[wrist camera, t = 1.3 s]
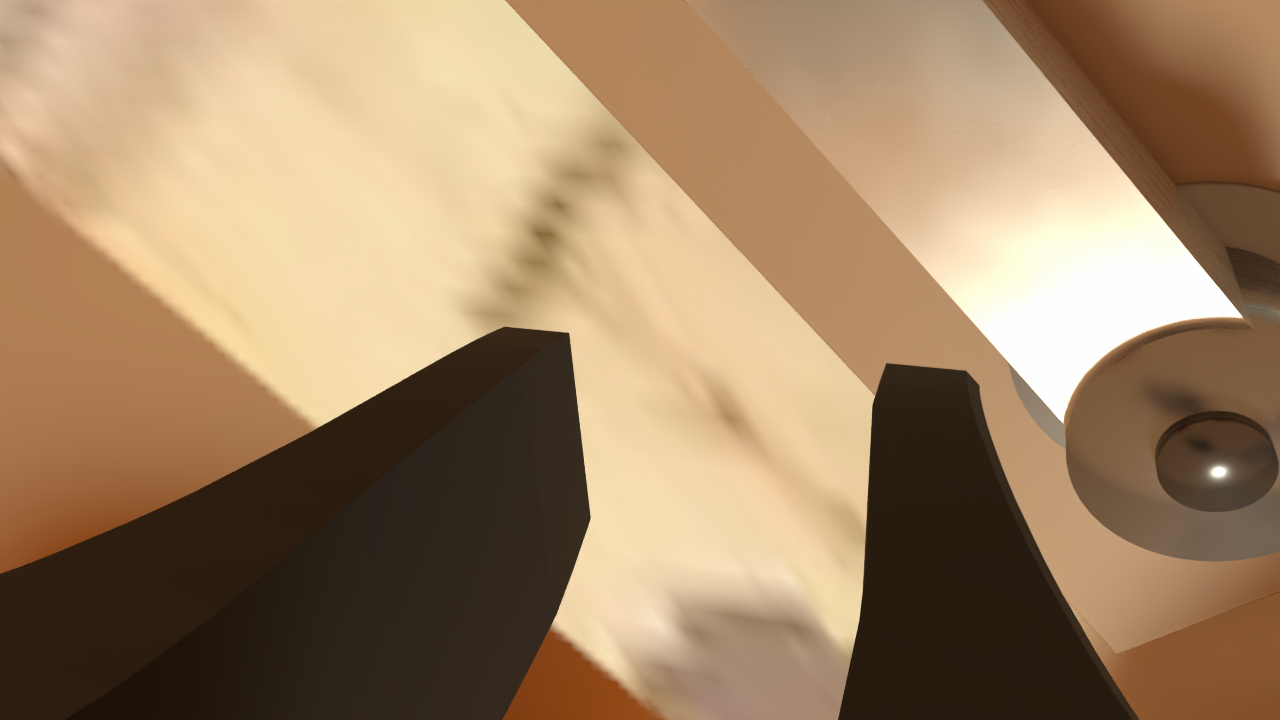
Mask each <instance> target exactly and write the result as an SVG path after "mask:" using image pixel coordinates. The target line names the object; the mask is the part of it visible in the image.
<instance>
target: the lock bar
mask: <svg viewBox="0 0 1280 720" xmlns="http://www.w3.org/2000/svg"><path fill="white" fill-rule="evenodd" d="M686 1H687V2H688V3H689V5H690V6H691V7H692V8H693V9H694V10H695V11H696V12H697V14H698V15H699V16H700V17H701V18H702V19H703V20H704V21H705V22H706V24H707V25H708V26H709V27H710V28H711V29H712V30H713V31H714V33H715V34H716V35H717V36H718V37H719V38H720V39H721V40H722V42H723V43H724V44H725V45H726V46H727V47H728V48H729V49H730V50H731V52H732V53H733V54H734V55H735V56H736V57H737V58H738V59H739V61H740V62H741V63H742V64H743V65H744V66H745V67H746V68H747V70H748V71H749V72H750V73H751V74H752V75H753V76H754V77H755V78H756V80H757V81H758V82H759V83H760V84H761V85H762V86H763V87H764V89H765V90H766V91H767V92H768V93H769V94H770V95H771V96H772V98H773V99H774V100H775V101H776V102H777V103H778V104H779V105H780V107H781V108H782V109H783V110H784V111H785V112H786V113H787V114H788V115H789V117H790V118H791V119H792V120H793V121H794V122H795V123H796V124H797V126H798V127H799V128H800V129H801V130H802V131H803V132H804V133H805V135H806V136H807V137H808V138H809V139H810V140H811V141H812V142H813V143H814V145H815V146H816V147H817V148H818V149H819V150H820V151H821V152H822V154H823V155H824V156H825V157H826V158H827V159H828V160H829V161H830V163H831V164H832V165H833V166H834V167H835V168H836V169H837V170H838V172H839V173H840V174H841V175H842V176H843V177H844V178H845V179H846V180H847V182H848V183H849V184H850V185H851V186H852V187H853V188H854V189H855V191H856V192H857V193H858V194H859V195H860V196H861V197H862V198H863V200H864V201H865V202H866V203H867V204H868V205H869V206H870V207H871V208H872V210H873V211H874V212H875V213H876V214H877V215H878V216H879V217H880V219H881V220H882V221H883V222H884V223H885V224H886V225H887V226H888V228H889V229H890V230H891V231H892V232H893V233H894V234H895V235H896V237H897V238H898V239H899V240H900V241H901V242H902V243H903V244H904V245H905V247H906V248H907V249H908V250H909V251H910V252H911V253H912V254H913V256H914V257H915V258H916V259H917V260H918V261H919V262H920V263H921V265H922V266H923V267H924V268H925V269H926V270H927V271H928V272H929V273H930V275H931V276H932V277H933V278H934V279H935V280H936V281H937V282H938V284H939V285H940V286H941V287H942V288H943V289H944V290H945V291H946V293H947V294H948V295H949V296H950V297H951V298H952V299H953V300H954V302H955V303H956V304H957V305H958V306H959V307H960V308H961V309H962V310H963V312H964V313H965V314H966V315H967V316H968V317H969V318H970V319H971V321H972V322H973V323H974V324H975V325H976V326H977V327H978V328H979V330H980V331H981V332H982V333H983V334H984V335H985V336H986V337H987V338H988V340H989V341H990V342H991V343H992V344H993V345H994V346H995V347H996V349H997V350H998V351H999V352H1000V353H1001V354H1002V355H1003V356H1004V358H1005V359H1006V360H1007V361H1008V362H1009V363H1010V364H1011V365H1012V367H1013V368H1014V369H1015V370H1016V371H1017V372H1018V373H1019V374H1020V375H1021V377H1022V378H1023V379H1024V380H1025V381H1026V382H1027V383H1028V384H1029V386H1030V387H1031V388H1032V389H1033V390H1034V391H1035V392H1036V393H1037V395H1038V396H1039V397H1040V398H1041V399H1042V400H1043V401H1044V402H1045V403H1046V405H1047V406H1048V407H1049V408H1050V409H1051V410H1052V411H1053V412H1054V414H1055V415H1056V416H1057V417H1058V418H1059V419H1060V420H1061V421H1062V423H1063V424H1064V425H1065V444H1066V463H1067V468H1068V473H1069V477H1070V480H1071V482H1072V485H1073V488H1074V490H1075V492H1076V493H1077V495H1078V497H1079V499H1080V500H1081V502H1082V503H1083V505H1084V506H1085V507H1086V508H1087V510H1088V511H1089V512H1090V513H1091V514H1092V515H1093V516H1094V517H1095V518H1096V519H1097V520H1098V521H1099V522H1100V523H1101V524H1102V525H1103V526H1105V527H1106V528H1107V529H1109V530H1110V531H1111V532H1113V533H1114V534H1116V535H1117V536H1119V537H1121V538H1123V539H1124V540H1126V541H1128V542H1130V543H1132V544H1134V545H1136V546H1139V547H1141V548H1143V549H1146V550H1149V551H1152V552H1155V553H1158V554H1161V555H1165V556H1170V557H1174V558H1179V559H1187V560H1195V561H1214V562H1219V561H1236V560H1243V559H1250V558H1256V557H1260V556H1264V555H1269V554H1273V553H1276V552H1279V551H1280V264H1279V263H1277V262H1275V261H1274V260H1271V259H1269V258H1266V257H1264V256H1262V255H1259V254H1257V253H1253V252H1250V251H1246V250H1243V249H1238V248H1232V247H1226V246H1225V245H1224V244H1223V243H1222V242H1221V241H1220V239H1219V238H1218V237H1217V236H1216V234H1215V233H1214V232H1213V231H1212V229H1211V228H1210V227H1209V226H1208V225H1207V223H1206V222H1205V221H1204V220H1203V218H1202V217H1201V216H1200V215H1199V213H1198V212H1197V211H1196V210H1195V208H1194V207H1193V206H1192V205H1191V204H1190V202H1189V201H1188V200H1187V199H1186V197H1185V196H1184V195H1183V194H1182V192H1181V191H1180V190H1179V189H1178V188H1177V186H1176V185H1175V184H1174V183H1173V181H1172V180H1171V179H1170V178H1169V176H1168V175H1167V174H1166V173H1165V172H1164V170H1163V169H1162V168H1161V167H1160V165H1159V164H1158V163H1157V162H1156V160H1155V159H1154V158H1153V157H1152V156H1151V154H1150V153H1149V152H1148V151H1147V149H1146V148H1145V147H1144V146H1143V144H1142V143H1141V142H1140V141H1139V139H1138V138H1137V137H1136V136H1135V135H1134V133H1133V132H1132V131H1131V130H1130V128H1129V127H1128V126H1127V125H1126V123H1125V122H1124V121H1123V120H1122V119H1121V117H1120V116H1119V115H1118V114H1117V112H1116V111H1115V110H1114V109H1113V107H1112V106H1111V105H1110V104H1109V103H1108V101H1107V100H1106V99H1105V98H1104V96H1103V95H1102V94H1101V93H1100V91H1099V90H1098V89H1097V88H1096V87H1095V85H1094V84H1093V83H1092V82H1091V80H1090V79H1089V78H1088V77H1087V75H1086V74H1085V73H1084V72H1083V70H1082V69H1081V68H1080V67H1079V66H1078V64H1077V63H1076V62H1075V61H1074V59H1073V58H1072V57H1071V56H1070V54H1069V53H1068V52H1067V51H1066V50H1065V48H1064V47H1063V46H1062V45H1061V43H1060V42H1059V41H1058V40H1057V38H1056V37H1055V36H1054V35H1053V34H1052V32H1051V31H1050V30H1049V29H1048V27H1047V26H1046V25H1045V24H1044V22H1043V21H1042V20H1041V19H1040V18H1039V16H1038V15H1037V14H1036V13H1035V11H1034V10H1033V9H1032V8H1031V6H1030V5H1029V4H1028V3H1027V1H1026V0H686Z"/></svg>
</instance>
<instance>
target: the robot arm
mask: <svg viewBox="0 0 1280 720" xmlns="http://www.w3.org/2000/svg"><path fill="white" fill-rule="evenodd" d="M590 519H591V517H590V509H589V500H588V491H587V483H586V474H585V466H584V457H583V448H582V440H581V431H580V423H579V414H578V405H577V397H576V388H575V380H574V371H573V362H572V354H571V345H570V337H569V333H564V332H553V331H543V330H532V329H522V328H511V327H503V328H501V329H498V330H496V331H494V332H492V333H489V334H487V335H485V336H483V337H481V338H479V339H477V340H475V341H473V342H471V343H469V344H467V345H465V346H463V347H461V348H460V349H458V350H456V351H454V352H452V353H450V354H449V355H447V356H445V357H443V358H441V359H439V360H438V361H436V362H434V363H432V364H431V365H429V366H427V367H425V368H423V369H422V370H420V371H418V372H416V373H415V374H413V375H411V376H409V377H408V378H406V379H404V380H402V381H401V382H399V383H397V384H395V385H394V386H392V387H390V388H388V389H386V390H385V391H383V392H381V393H379V394H378V395H376V396H374V397H372V398H370V399H369V400H367V401H365V402H363V403H362V404H360V405H358V406H356V407H354V408H353V409H351V410H349V411H347V412H346V413H344V414H342V415H340V416H338V417H337V418H335V419H333V420H331V421H330V422H328V423H326V424H324V425H322V426H321V427H319V428H317V429H315V430H314V431H312V432H310V433H308V434H306V435H304V436H302V437H300V438H298V439H297V440H295V441H293V442H291V443H289V444H287V445H285V446H283V447H281V448H279V449H277V450H275V451H273V452H271V453H269V454H267V455H266V456H263V457H261V458H259V459H258V460H256V461H254V462H252V463H250V464H248V465H246V466H244V467H242V468H240V469H238V470H236V471H235V472H232V473H230V474H228V475H226V476H225V477H223V478H221V479H219V480H217V481H215V482H213V483H211V484H209V485H207V486H205V487H203V488H201V489H199V490H197V491H195V492H193V493H191V494H189V495H187V496H185V497H183V498H181V499H178V500H176V501H174V502H172V503H170V504H168V505H166V506H164V507H161V508H159V509H157V510H155V511H152V512H151V513H148V514H146V515H144V516H141V517H139V518H137V519H135V520H133V521H130V522H128V523H126V524H124V525H121V526H119V527H116V528H114V529H112V530H109V531H107V532H104V533H102V534H100V535H97V536H95V537H93V538H90V539H88V540H85V541H83V542H81V543H78V544H76V545H73V546H71V547H69V548H66V549H64V550H62V551H59V552H57V553H55V554H52V555H49V556H47V557H44V558H42V559H39V560H37V561H34V562H32V563H29V564H26V565H24V566H21V567H19V568H16V569H13V570H10V571H7V572H5V573H2V574H0V720H502V719H503V717H504V716H505V714H506V712H507V710H508V708H509V705H510V704H511V702H512V700H513V698H514V697H515V694H516V693H517V691H518V689H519V687H520V685H521V683H522V681H523V679H524V677H525V675H526V673H527V671H528V670H529V667H530V666H531V664H532V662H533V660H534V657H535V656H536V654H537V652H538V650H539V648H540V646H541V644H542V642H543V640H544V638H545V636H546V634H547V632H548V630H549V628H550V626H551V624H552V622H553V620H554V618H555V616H556V614H557V612H558V609H559V606H560V604H561V601H562V598H563V596H564V593H565V590H566V588H567V585H568V582H569V580H570V577H571V574H572V572H573V569H574V566H575V563H576V560H577V557H578V554H579V551H580V548H581V545H582V542H583V539H584V537H585V534H586V531H587V528H588V525H589V522H590ZM838 720H1139V719H1138V717H1137V716H1136V714H1135V713H1134V711H1133V710H1132V708H1131V707H1130V705H1129V704H1128V702H1127V701H1126V699H1125V697H1124V696H1123V694H1122V693H1121V691H1120V690H1119V688H1118V687H1117V685H1116V683H1115V682H1114V680H1113V679H1112V677H1111V676H1110V674H1109V672H1108V671H1107V669H1106V667H1105V666H1104V664H1103V663H1102V661H1101V659H1100V658H1099V656H1098V654H1097V653H1096V651H1095V650H1094V648H1093V646H1092V645H1091V643H1090V641H1089V639H1088V638H1087V636H1086V634H1085V632H1084V631H1083V629H1082V627H1081V625H1080V624H1079V622H1078V620H1077V618H1076V617H1075V615H1074V613H1073V611H1072V610H1071V608H1070V606H1069V604H1068V603H1067V601H1066V599H1065V597H1064V596H1063V594H1062V592H1061V590H1060V588H1059V586H1058V585H1057V583H1056V581H1055V579H1054V577H1053V575H1052V573H1051V571H1050V569H1049V567H1048V566H1047V564H1046V562H1045V560H1044V558H1043V556H1042V554H1041V552H1040V550H1039V548H1038V545H1037V543H1036V541H1035V539H1034V537H1033V535H1032V533H1031V531H1030V529H1029V526H1028V524H1027V522H1026V520H1025V518H1024V516H1023V514H1022V512H1021V510H1020V508H1019V505H1018V503H1017V501H1016V499H1015V497H1014V494H1013V492H1012V490H1011V487H1010V485H1009V483H1008V480H1007V478H1006V475H1005V473H1004V470H1003V468H1002V465H1001V462H1000V460H999V457H998V454H997V452H996V449H995V446H994V444H993V441H992V438H991V435H990V432H989V428H988V425H987V422H986V418H985V415H984V411H983V406H982V402H981V397H980V386H979V384H978V383H977V382H976V381H975V380H974V379H973V377H972V376H971V375H970V374H969V373H968V372H967V371H965V370H955V369H944V368H933V367H923V366H912V365H902V364H891V363H886V365H885V368H884V371H883V374H882V376H881V379H880V382H879V385H878V389H877V392H876V395H875V399H874V402H873V407H872V426H871V445H870V465H869V484H868V503H867V522H866V541H865V560H864V579H863V595H862V603H861V612H860V620H859V625H858V630H857V634H856V639H855V644H854V648H853V653H852V658H851V662H850V667H849V672H848V676H847V681H846V686H845V690H844V695H843V700H842V704H841V709H840V714H839V718H838Z"/></svg>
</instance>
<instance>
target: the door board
mask: <svg viewBox="0 0 1280 720" xmlns="http://www.w3.org/2000/svg"><path fill="white" fill-rule="evenodd" d="M1026 1H1027V3H1028V4H1029V5H1030V6H1031V8H1032V9H1033V10H1034V11H1035V13H1036V14H1037V15H1038V16H1039V18H1040V19H1041V20H1042V21H1043V22H1044V24H1045V25H1046V26H1047V27H1048V29H1049V30H1050V31H1051V32H1052V34H1053V35H1054V36H1055V37H1056V38H1057V40H1058V41H1059V42H1060V43H1061V45H1062V46H1063V47H1064V48H1065V50H1066V51H1067V52H1068V53H1069V54H1070V56H1071V57H1072V58H1073V59H1074V61H1075V62H1076V63H1077V64H1078V66H1079V67H1080V68H1081V69H1082V70H1083V72H1084V73H1085V74H1086V75H1087V77H1088V78H1089V79H1090V80H1091V82H1092V83H1093V84H1094V85H1095V87H1096V88H1097V89H1098V90H1099V91H1100V93H1101V94H1102V95H1103V96H1104V98H1105V99H1106V100H1107V101H1108V103H1109V104H1110V105H1111V106H1112V107H1113V109H1114V110H1115V111H1116V112H1117V114H1118V115H1119V116H1120V117H1121V119H1122V120H1123V121H1124V122H1125V123H1126V125H1127V126H1128V127H1129V128H1130V130H1131V131H1132V132H1133V133H1134V135H1135V136H1136V137H1137V138H1138V139H1139V141H1140V142H1141V143H1142V144H1143V146H1144V147H1145V148H1146V149H1147V151H1148V152H1149V153H1150V154H1151V156H1152V157H1153V158H1154V159H1155V160H1156V162H1157V163H1158V164H1159V165H1160V167H1161V168H1162V169H1163V170H1164V172H1165V173H1166V174H1167V175H1168V176H1169V178H1170V179H1171V180H1172V181H1173V183H1174V184H1175V185H1176V186H1177V188H1178V189H1179V190H1180V191H1181V192H1182V194H1183V195H1184V196H1185V197H1186V199H1187V200H1188V201H1189V202H1190V204H1191V205H1192V206H1193V207H1194V208H1195V210H1196V211H1197V212H1198V213H1199V215H1200V216H1201V217H1202V218H1203V220H1204V221H1205V222H1206V223H1207V225H1208V226H1209V227H1210V228H1211V229H1212V231H1213V232H1214V233H1215V234H1216V236H1217V237H1218V238H1219V239H1220V241H1221V242H1222V243H1223V244H1224V245H1225V246H1226V247H1232V248H1238V249H1243V250H1246V251H1250V252H1253V253H1257V254H1259V255H1262V256H1264V257H1266V258H1269V259H1271V260H1274V261H1275V262H1277V263H1279V264H1280V0H1026ZM506 2H507V3H508V4H509V5H510V6H511V7H512V8H513V9H514V10H515V11H516V12H517V13H518V14H519V15H520V17H521V18H522V19H523V20H524V21H525V22H526V23H527V24H528V25H529V26H530V27H531V28H532V29H533V30H534V31H535V33H536V34H537V35H538V36H539V37H540V38H541V39H542V40H543V41H544V42H545V43H546V44H547V45H548V46H549V48H550V49H551V50H552V51H553V52H554V53H555V54H556V55H557V56H558V57H559V58H560V59H561V60H562V61H563V62H564V64H565V65H566V66H567V67H568V68H569V69H570V70H571V71H572V72H573V73H574V74H575V75H576V76H577V77H578V79H579V80H580V81H581V82H582V83H583V84H584V85H585V86H586V87H587V88H588V89H589V90H590V91H591V92H592V93H593V95H594V96H595V97H596V98H597V99H598V100H599V101H600V102H601V103H602V104H603V105H604V106H605V107H606V108H607V110H608V111H609V112H610V113H611V114H612V115H613V116H614V117H615V118H616V119H617V120H618V121H619V122H620V123H621V125H622V126H623V127H624V128H625V129H626V130H627V131H628V132H629V133H630V134H631V135H632V136H633V137H634V138H635V139H636V141H637V142H638V143H639V144H640V145H641V146H642V147H643V148H644V149H645V150H646V151H647V152H648V153H649V154H650V156H651V157H652V158H653V159H654V160H655V161H656V162H657V163H658V164H659V165H660V166H661V167H662V168H663V169H664V170H665V172H666V173H667V174H668V175H669V176H670V177H671V178H672V179H673V180H674V181H675V182H676V183H677V184H678V185H679V187H680V188H681V189H682V190H683V191H684V192H685V193H686V194H687V195H688V196H689V197H690V198H691V199H692V200H693V201H694V203H695V204H696V205H697V206H698V207H699V208H700V209H701V210H702V211H703V212H704V213H705V214H706V215H707V216H708V218H709V219H710V220H711V221H712V222H713V223H714V224H715V225H716V226H717V227H718V228H719V229H720V230H721V231H722V233H723V234H724V235H725V236H726V237H727V238H728V239H729V240H730V241H731V242H732V243H733V244H734V245H735V246H736V247H737V249H738V250H739V251H740V252H741V253H742V254H743V255H744V256H745V257H746V258H747V259H748V260H749V261H750V262H751V264H752V265H753V266H754V267H755V268H756V269H757V270H758V271H759V272H760V273H761V274H762V275H763V276H764V277H765V278H766V280H767V281H768V282H769V283H770V284H771V285H772V286H773V287H774V288H775V289H776V290H777V291H778V292H779V293H780V295H781V296H782V297H783V298H784V299H785V300H786V301H787V302H788V303H789V304H790V305H791V306H792V307H793V308H794V309H795V311H796V312H797V313H798V314H799V315H800V316H801V317H802V318H803V319H804V320H805V321H806V322H807V323H808V324H809V326H810V327H811V328H812V329H813V330H814V331H815V332H816V333H817V334H818V335H819V336H820V337H821V338H822V339H823V341H824V342H825V343H826V344H827V345H828V346H829V347H830V348H831V349H832V350H833V351H834V352H835V353H836V354H837V355H838V357H839V358H840V359H841V360H842V361H843V362H844V363H845V364H846V365H847V366H848V367H849V368H850V369H851V370H852V372H853V373H854V374H855V375H856V376H857V377H858V378H859V379H860V380H861V381H862V382H863V383H864V384H865V385H866V386H867V388H868V389H869V390H870V391H871V392H872V393H873V394H874V395H876V392H877V389H878V385H879V382H880V379H881V376H882V374H883V371H884V368H885V365H886V363H891V364H902V365H912V366H923V367H933V368H944V369H955V370H965V371H967V372H968V373H969V374H970V375H971V376H972V377H973V379H974V380H975V381H976V382H977V383H978V384H979V386H980V397H981V402H982V406H983V411H984V415H985V418H986V422H987V425H988V428H989V432H990V435H991V438H992V441H993V444H994V446H995V449H996V452H997V454H998V457H999V460H1000V462H1001V465H1002V468H1003V470H1004V473H1005V475H1006V478H1007V480H1008V483H1009V485H1010V487H1011V490H1012V492H1013V494H1014V497H1015V499H1016V501H1017V503H1018V505H1019V508H1020V510H1021V512H1022V514H1023V516H1024V518H1025V520H1026V522H1027V524H1028V526H1029V529H1030V531H1031V533H1032V535H1033V537H1034V539H1035V541H1036V543H1037V545H1038V548H1039V550H1040V552H1041V554H1042V556H1043V558H1044V560H1045V562H1046V564H1047V566H1048V567H1049V569H1050V571H1051V573H1052V575H1053V577H1054V579H1055V581H1056V583H1057V585H1058V586H1059V588H1060V590H1061V592H1062V594H1063V596H1064V597H1065V599H1066V600H1067V601H1068V602H1069V604H1070V605H1071V606H1072V607H1073V608H1074V609H1075V610H1076V611H1077V612H1078V613H1079V614H1080V615H1081V616H1082V617H1083V619H1084V620H1085V621H1086V622H1087V623H1088V624H1089V625H1090V626H1091V627H1092V628H1093V629H1094V630H1095V631H1096V632H1097V634H1098V635H1099V636H1100V637H1101V638H1102V639H1103V640H1104V641H1105V642H1106V643H1107V644H1108V645H1109V646H1110V647H1111V648H1112V650H1113V651H1114V652H1115V653H1116V654H1119V653H1121V652H1124V651H1126V650H1129V649H1132V648H1134V647H1137V646H1139V645H1142V644H1145V643H1147V642H1150V641H1152V640H1155V639H1158V638H1160V637H1163V636H1165V635H1168V634H1171V633H1173V632H1176V631H1178V630H1181V629H1184V628H1186V627H1189V626H1191V625H1194V624H1197V623H1199V622H1202V621H1204V620H1207V619H1210V618H1212V617H1215V616H1217V615H1220V614H1223V613H1225V612H1228V611H1230V610H1233V609H1236V608H1238V607H1241V606H1243V605H1246V604H1248V603H1251V602H1254V601H1256V600H1259V599H1261V598H1264V597H1267V596H1269V595H1272V594H1274V593H1277V592H1280V551H1279V552H1276V553H1273V554H1269V555H1264V556H1260V557H1256V558H1250V559H1243V560H1236V561H1219V562H1214V561H1195V560H1187V559H1179V558H1174V557H1170V556H1165V555H1161V554H1158V553H1155V552H1152V551H1149V550H1146V549H1143V548H1141V547H1139V546H1136V545H1134V544H1132V543H1130V542H1128V541H1126V540H1124V539H1123V538H1121V537H1119V536H1117V535H1116V534H1114V533H1113V532H1111V531H1110V530H1109V529H1107V528H1106V527H1105V526H1103V525H1102V524H1101V523H1100V522H1099V521H1098V520H1097V519H1096V518H1095V517H1094V516H1093V515H1092V514H1091V513H1090V512H1089V511H1088V510H1087V508H1086V507H1085V506H1084V505H1083V503H1082V502H1081V500H1080V499H1079V497H1078V495H1077V493H1076V492H1075V490H1074V488H1073V485H1072V482H1071V480H1070V477H1069V473H1068V468H1067V463H1066V444H1065V425H1064V424H1063V423H1062V421H1061V420H1060V419H1059V418H1058V417H1057V416H1056V415H1055V414H1054V412H1053V411H1052V410H1051V409H1050V408H1049V407H1048V406H1047V405H1046V403H1045V402H1044V401H1043V400H1042V399H1041V398H1040V397H1039V396H1038V395H1037V393H1036V392H1035V391H1034V390H1033V389H1032V388H1031V387H1030V386H1029V384H1028V383H1027V382H1026V381H1025V380H1024V379H1023V378H1022V377H1021V375H1020V374H1019V373H1018V372H1017V371H1016V370H1015V369H1014V368H1013V367H1012V365H1011V364H1010V363H1009V362H1008V361H1007V360H1006V359H1005V358H1004V356H1003V355H1002V354H1001V353H1000V352H999V351H998V350H997V349H996V347H995V346H994V345H993V344H992V343H991V342H990V341H989V340H988V338H987V337H986V336H985V335H984V334H983V333H982V332H981V331H980V330H979V328H978V327H977V326H976V325H975V324H974V323H973V322H972V321H971V319H970V318H969V317H968V316H967V315H966V314H965V313H964V312H963V310H962V309H961V308H960V307H959V306H958V305H957V304H956V303H955V302H954V300H953V299H952V298H951V297H950V296H949V295H948V294H947V293H946V291H945V290H944V289H943V288H942V287H941V286H940V285H939V284H938V282H937V281H936V280H935V279H934V278H933V277H932V276H931V275H930V273H929V272H928V271H927V270H926V269H925V268H924V267H923V266H922V265H921V263H920V262H919V261H918V260H917V259H916V258H915V257H914V256H913V254H912V253H911V252H910V251H909V250H908V249H907V248H906V247H905V245H904V244H903V243H902V242H901V241H900V240H899V239H898V238H897V237H896V235H895V234H894V233H893V232H892V231H891V230H890V229H889V228H888V226H887V225H886V224H885V223H884V222H883V221H882V220H881V219H880V217H879V216H878V215H877V214H876V213H875V212H874V211H873V210H872V208H871V207H870V206H869V205H868V204H867V203H866V202H865V201H864V200H863V198H862V197H861V196H860V195H859V194H858V193H857V192H856V191H855V189H854V188H853V187H852V186H851V185H850V184H849V183H848V182H847V180H846V179H845V178H844V177H843V176H842V175H841V174H840V173H839V172H838V170H837V169H836V168H835V167H834V166H833V165H832V164H831V163H830V161H829V160H828V159H827V158H826V157H825V156H824V155H823V154H822V152H821V151H820V150H819V149H818V148H817V147H816V146H815V145H814V143H813V142H812V141H811V140H810V139H809V138H808V137H807V136H806V135H805V133H804V132H803V131H802V130H801V129H800V128H799V127H798V126H797V124H796V123H795V122H794V121H793V120H792V119H791V118H790V117H789V115H788V114H787V113H786V112H785V111H784V110H783V109H782V108H781V107H780V105H779V104H778V103H777V102H776V101H775V100H774V99H773V98H772V96H771V95H770V94H769V93H768V92H767V91H766V90H765V89H764V87H763V86H762V85H761V84H760V83H759V82H758V81H757V80H756V78H755V77H754V76H753V75H752V74H751V73H750V72H749V71H748V70H747V68H746V67H745V66H744V65H743V64H742V63H741V62H740V61H739V59H738V58H737V57H736V56H735V55H734V54H733V53H732V52H731V50H730V49H729V48H728V47H727V46H726V45H725V44H724V43H723V42H722V40H721V39H720V38H719V37H718V36H717V35H716V34H715V33H714V31H713V30H712V29H711V28H710V27H709V26H708V25H707V24H706V22H705V21H704V20H703V19H702V18H701V17H700V16H699V15H698V14H697V12H696V11H695V10H694V9H693V8H692V7H691V6H690V5H689V3H688V2H687V1H686V0H506Z"/></svg>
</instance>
